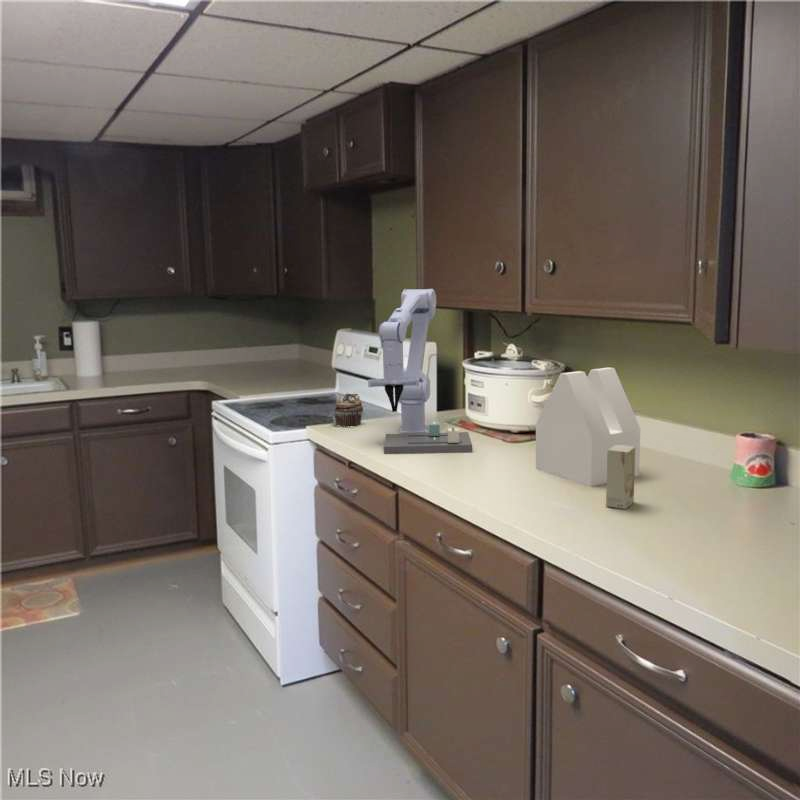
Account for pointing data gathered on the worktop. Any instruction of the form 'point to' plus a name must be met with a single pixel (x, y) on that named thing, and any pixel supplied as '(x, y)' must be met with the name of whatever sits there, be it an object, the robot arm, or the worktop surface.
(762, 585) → the worktop surface
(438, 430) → the teal fader
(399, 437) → the console
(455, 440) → the ivory fader
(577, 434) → the grey house shaped holder
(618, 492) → the skincare box
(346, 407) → the cupcake
